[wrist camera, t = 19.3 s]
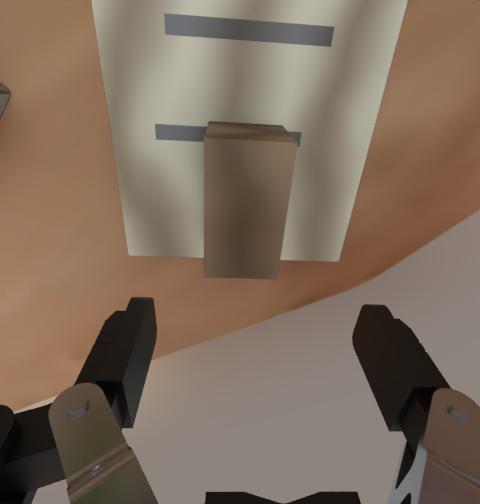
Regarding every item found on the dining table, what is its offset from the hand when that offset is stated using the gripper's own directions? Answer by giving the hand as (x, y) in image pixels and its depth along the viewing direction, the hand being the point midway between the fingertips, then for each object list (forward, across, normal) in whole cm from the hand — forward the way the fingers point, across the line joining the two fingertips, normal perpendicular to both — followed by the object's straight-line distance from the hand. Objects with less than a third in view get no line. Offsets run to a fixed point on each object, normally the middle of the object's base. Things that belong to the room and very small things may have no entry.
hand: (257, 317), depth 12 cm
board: (+15, 0, -7) cm, 17 cm away
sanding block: (+14, 0, 0) cm, 14 cm away
